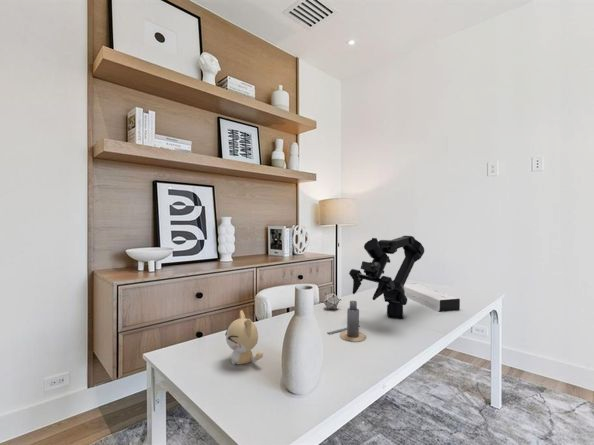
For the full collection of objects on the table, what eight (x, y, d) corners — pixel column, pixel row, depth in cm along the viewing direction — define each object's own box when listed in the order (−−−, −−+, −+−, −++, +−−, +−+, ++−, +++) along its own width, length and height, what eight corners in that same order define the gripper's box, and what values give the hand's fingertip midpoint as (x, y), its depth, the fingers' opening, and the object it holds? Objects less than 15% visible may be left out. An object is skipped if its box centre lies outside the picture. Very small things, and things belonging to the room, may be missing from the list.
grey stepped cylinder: (356, 333, 123) (357, 299, 123) (360, 337, 119) (360, 303, 118) (345, 333, 123) (346, 300, 122) (348, 338, 118) (349, 303, 118)
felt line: (357, 325, 132) (357, 324, 132) (359, 326, 131) (359, 325, 131) (327, 333, 124) (327, 332, 124) (329, 334, 122) (329, 333, 122)
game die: (334, 317, 154) (340, 304, 148) (318, 310, 155) (323, 297, 149) (338, 304, 161) (344, 291, 155) (323, 297, 162) (328, 284, 156)
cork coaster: (367, 333, 124) (367, 332, 124) (365, 343, 114) (365, 342, 114) (341, 330, 127) (341, 329, 127) (337, 340, 117) (337, 338, 117)
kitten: (221, 354, 105) (221, 309, 105) (250, 349, 109) (250, 306, 109) (231, 375, 92) (230, 324, 91) (264, 368, 96) (264, 319, 95)
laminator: (459, 311, 153) (459, 298, 153) (437, 313, 150) (438, 300, 150) (416, 293, 186) (416, 283, 186) (397, 295, 183) (398, 284, 183)
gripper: (352, 250, 135) (335, 280, 129) (392, 257, 123) (377, 292, 116) (361, 265, 142) (346, 294, 135) (401, 273, 129) (386, 306, 123)
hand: (362, 296), depth 127 cm, fingers open, 9 cm apart
